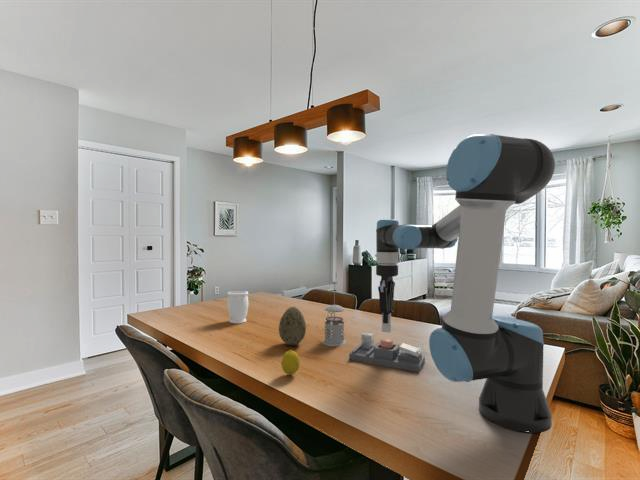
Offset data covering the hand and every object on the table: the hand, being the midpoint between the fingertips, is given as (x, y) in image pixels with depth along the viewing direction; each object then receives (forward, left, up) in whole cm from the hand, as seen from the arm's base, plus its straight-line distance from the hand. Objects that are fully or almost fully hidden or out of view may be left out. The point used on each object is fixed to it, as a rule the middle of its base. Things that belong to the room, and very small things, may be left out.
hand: (386, 331), depth 114 cm
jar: (+16, +81, -10) cm, 83 cm away
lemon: (-26, +23, -10) cm, 36 cm away
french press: (+10, +25, -10) cm, 29 cm away
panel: (0, 0, -10) cm, 10 cm away
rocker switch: (0, -8, -6) cm, 10 cm away
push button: (0, 0, -6) cm, 6 cm away
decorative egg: (-1, +38, -10) cm, 39 cm away
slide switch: (+3, +8, -8) cm, 11 cm away
